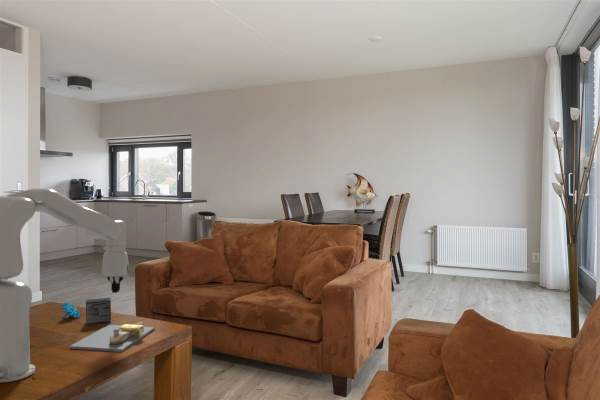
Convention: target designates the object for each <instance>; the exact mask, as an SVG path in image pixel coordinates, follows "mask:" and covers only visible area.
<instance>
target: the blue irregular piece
mask: <svg viewBox="0 0 600 400" xmlns="http://www.w3.org/2000/svg"><path fill="white" fill-rule="evenodd" d="M61 306H62V310H65V311H64V312H65V314H63V316H62V319H65V318H67V316H70V317H73V318H74V319H76V318H77V319H78V318H80V316H81V313H80V310H78V307H77V306H74V305H73V304H72V303H70V302H68V301H67V302H66V301H64V302H62V304H61Z"/></svg>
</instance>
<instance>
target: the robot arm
mask: <svg viewBox="0 0 600 400" xmlns="http://www.w3.org/2000/svg"><path fill="white" fill-rule="evenodd" d="M37 212H40V213H45V214H47V215H48V216H51V217H52V218H54V219H56V220H58V221H60V222H62V223H64V224H65V225H69V226H71V227H76V228H80V229H84V230H85V234H87V236H89V238H91V239H95V240H106V241H105V243H106V245H105V246H103V247H102V249H103V250H104V251H105V252H104V253H103V257H102V261H101V262H102V264H101V275H102V279H106V280H108V281H109V283H110V284H111V288H110V289H111V291H112V292H111V293H113V294H116V293H119V292H120V290H121V283H122V281H123V280H126V279H129V278H130V275H129V273H130V264H129V263H130V262H129V255H128V252H127V251H126V245H127V244H126V242H127V241H126V235H127V234H126V230H127V229H126V226H127V225H126V222H125V220H121V219H117V220H116V219H115V220H114V219H113V218H111V217H109V216H107V215H106V214H103V213H101V212H99V211H95V210H93V209H90V208H89V207H85V206H84V205H81V204H79V203H78V202H76V201H74V200H72V199H71V198H69V197H67V196H65V195H64V194H62V193H61V192H58V191H56V190H55V189H51V188H31V189H27V190H22V191H19V192H14V193H9V194H5V195H1V196H0V383H2V384H3V383H11V382H15V381H20V380H23V379H25V378H28V377H29V376H31V375H33V374H34V373H35V372H36V366H35V365H34V364H32V363H31V352H30V351H31V349H30V348H31V347H30V346H31V344H30V343H31V342H30V341H31V339H30V337H31V336H30V335H31V334H30V333H31V331H30V311H31V307H32V306H31V305H32V301H33V292H32V289H31V288H30V286H28V285H27V284H26V283H24V282H21V281H16V280H11V279H14V278H16V277H18V276H20V275H21V274H22V271H24V270H23V269H24V258H23V257H24V256H23V251H22V244H21V234H22V233H21V232H22V230H23V228H24V226H25V225H26V224H27V223H28V222H29V221H30V220H31V218H33V216H34V215H35V213H37Z"/></svg>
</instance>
